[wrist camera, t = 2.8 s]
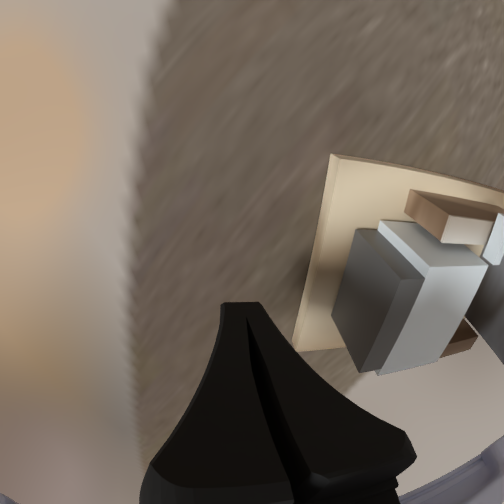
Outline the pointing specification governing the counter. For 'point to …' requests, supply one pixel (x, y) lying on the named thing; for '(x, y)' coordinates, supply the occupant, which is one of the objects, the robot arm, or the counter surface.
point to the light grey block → (407, 294)
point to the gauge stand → (399, 210)
